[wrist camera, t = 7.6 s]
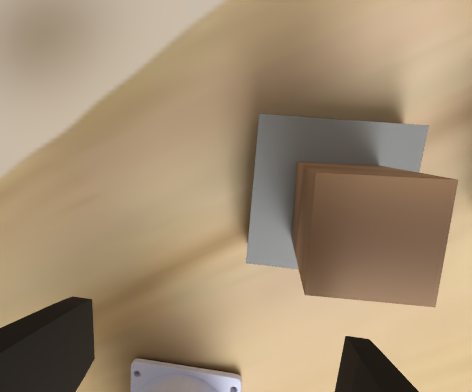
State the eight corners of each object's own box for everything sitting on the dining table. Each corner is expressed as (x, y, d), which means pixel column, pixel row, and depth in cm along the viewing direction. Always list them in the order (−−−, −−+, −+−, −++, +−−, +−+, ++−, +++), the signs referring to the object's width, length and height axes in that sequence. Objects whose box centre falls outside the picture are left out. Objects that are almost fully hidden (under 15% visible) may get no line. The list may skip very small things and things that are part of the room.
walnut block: (369, 243, 15) (434, 307, 9) (291, 237, 15) (304, 294, 9) (379, 165, 14) (457, 179, 8) (297, 161, 15) (315, 172, 9)
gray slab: (375, 257, 18) (396, 280, 15) (249, 243, 19) (246, 263, 16) (400, 127, 16) (428, 125, 14) (260, 117, 17) (259, 113, 14)
